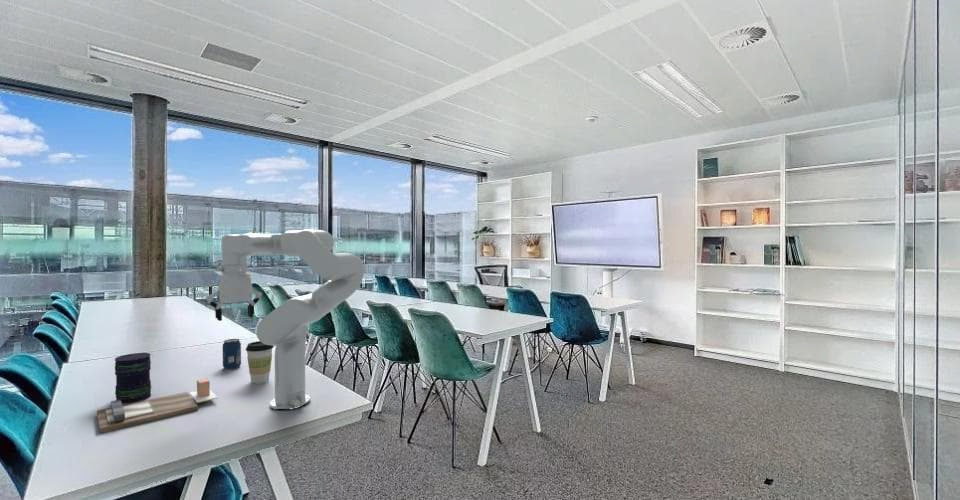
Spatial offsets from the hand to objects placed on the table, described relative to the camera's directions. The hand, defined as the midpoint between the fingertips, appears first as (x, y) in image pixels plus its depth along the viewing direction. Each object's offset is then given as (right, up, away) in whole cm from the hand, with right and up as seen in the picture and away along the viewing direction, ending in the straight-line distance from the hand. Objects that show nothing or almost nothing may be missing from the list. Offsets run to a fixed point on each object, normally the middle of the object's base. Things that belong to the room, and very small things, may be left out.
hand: (235, 318), depth 149 cm
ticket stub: (-11, -27, -1) cm, 29 cm away
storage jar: (-36, -29, +1) cm, 46 cm away
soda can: (-23, -28, +37) cm, 52 cm away
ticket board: (-21, -29, -12) cm, 38 cm away
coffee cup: (-1, -28, +19) cm, 34 cm away
